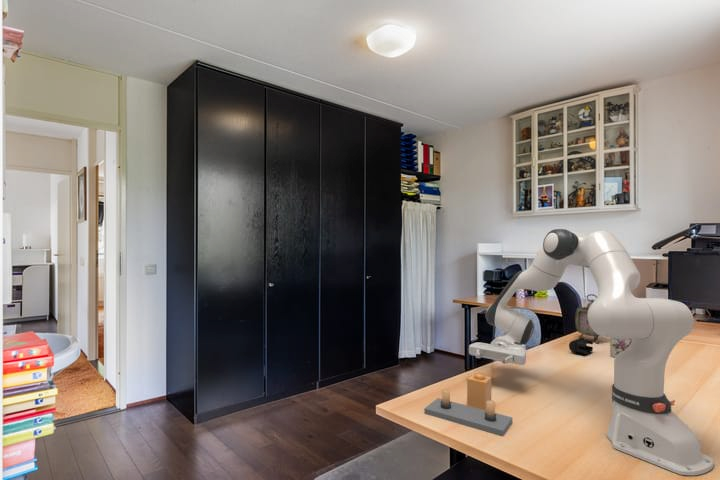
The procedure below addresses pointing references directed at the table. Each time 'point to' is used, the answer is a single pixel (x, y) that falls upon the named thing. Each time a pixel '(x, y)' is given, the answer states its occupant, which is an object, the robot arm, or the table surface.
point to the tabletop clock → (584, 321)
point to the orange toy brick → (478, 390)
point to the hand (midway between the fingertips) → (490, 358)
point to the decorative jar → (618, 346)
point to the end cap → (581, 347)
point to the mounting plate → (469, 414)
